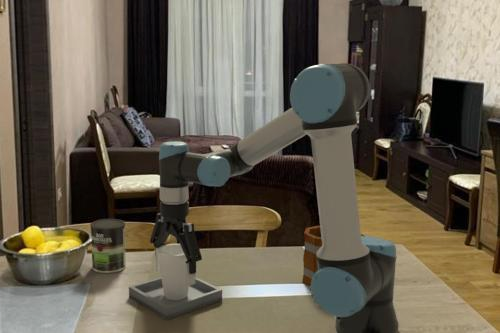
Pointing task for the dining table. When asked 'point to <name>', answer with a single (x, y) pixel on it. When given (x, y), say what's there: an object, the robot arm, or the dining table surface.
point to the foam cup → (173, 271)
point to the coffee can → (108, 245)
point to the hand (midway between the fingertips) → (175, 277)
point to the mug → (311, 252)
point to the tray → (155, 300)
